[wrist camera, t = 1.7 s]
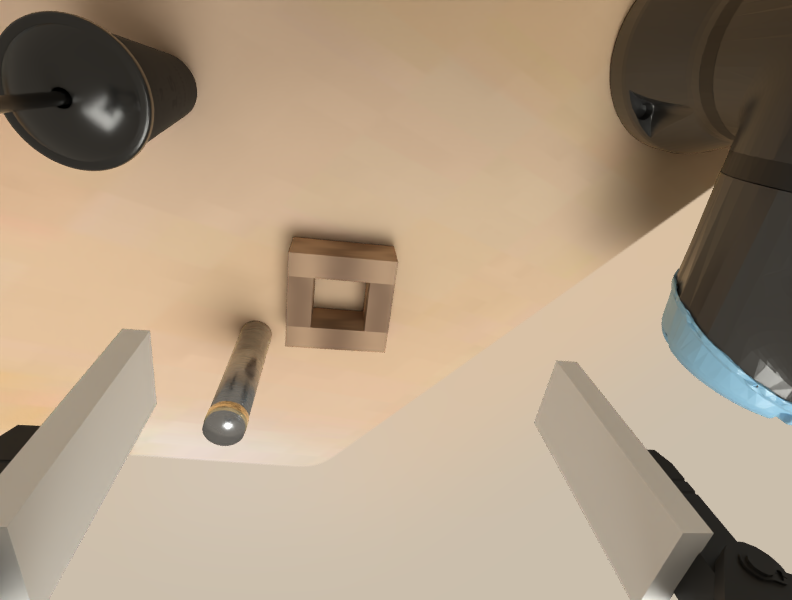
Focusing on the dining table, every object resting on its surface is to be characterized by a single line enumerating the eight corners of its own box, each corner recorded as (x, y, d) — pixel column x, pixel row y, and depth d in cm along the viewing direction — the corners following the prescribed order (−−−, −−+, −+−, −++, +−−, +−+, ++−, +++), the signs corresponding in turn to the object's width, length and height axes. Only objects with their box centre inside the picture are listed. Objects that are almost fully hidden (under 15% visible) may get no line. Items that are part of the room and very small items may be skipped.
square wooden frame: (393, 246, 44) (398, 262, 40) (382, 331, 48) (384, 352, 44) (293, 236, 43) (288, 252, 39) (290, 325, 47) (285, 346, 43)
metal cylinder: (272, 321, 46) (244, 415, 34) (271, 347, 48) (245, 446, 35) (240, 319, 46) (200, 413, 33) (240, 346, 47) (202, 445, 35)
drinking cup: (140, 148, 38) (-42, 218, 20) (93, 44, 34) (-177, 18, 17) (230, 126, 38) (127, 177, 20) (192, 20, 34) (26, -32, 17)
